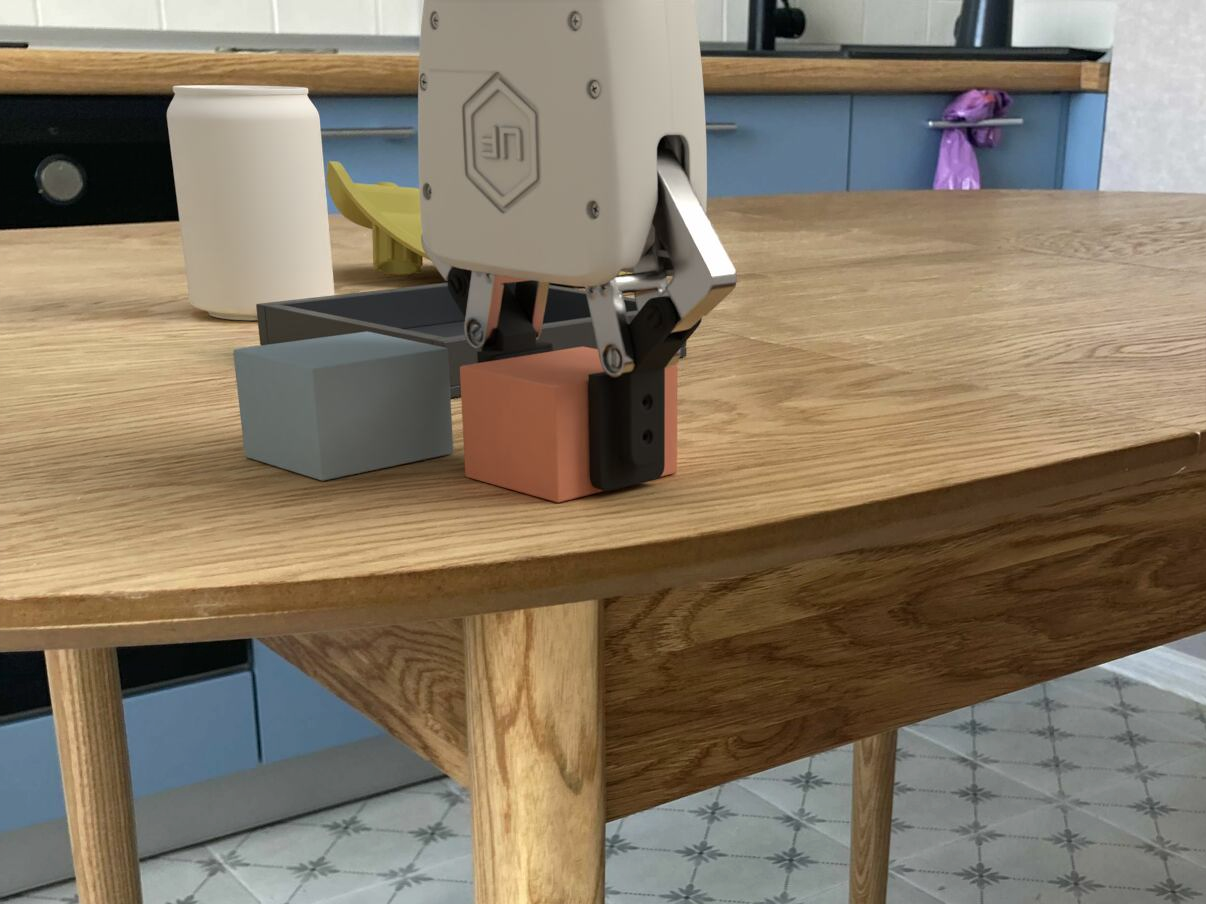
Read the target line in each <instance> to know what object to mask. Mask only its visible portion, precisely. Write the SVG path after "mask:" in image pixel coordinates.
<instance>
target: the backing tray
mask: <svg viewBox="0 0 1206 904" xmlns="http://www.w3.org/2000/svg"><path fill="white" fill-rule="evenodd" d="M507 285H508V286H509V288H510V289H511V291H512V293H513V294H514V292H515V286H516V282H515V283H507ZM623 298H624V303H625V308H626V313H627V318H628V323H629V324H630V323H631V321H632V320H633V319H634V318H635V316H636V315H637V314H638V311H637V306H636V302H635V297H629V296H623ZM256 309H257V319H258V320H257V327H258V328H257V329H258V337H259V346H262V345H269V344H277V343H284V342H292V341H299V340H307V339H314V338H322V337H329V336H337V335H344V334H352V333H359V332H372V333H377V334H382V335H387V336H391V337H396V338H401V339H406V340H411V341H416V342H420V343H425V344H430V345H435V346H440V347H445V348H447V349H448V361H449V379H450V398H451V399H453V398H458V397H461V382H460V367H461V366H464V365H470V364H476V363H478V360H477V352H480V351H482V349H478V350H475V349H473V348H471V347H470V346H469V344H468V343H467V341H466V338H465V334H464V323H465V317H464V315H463V314H462V312H461V310H460V309H459V307H458V306H457V304H456V302H455V301H454V299H453V297H452V296H451V294H450V292H449V289H448V284H447V282H440V283H432V284H431V283H430V284H423V285H413V286H405V287H396V288H387V289H386V288H385V289H379V290H370V291H360V292H352V293H351V292H350V293H341V294H335V295H332V296H323V297H314V298H305V299H296V300H287V301H278V302H269V303H260V304H256ZM538 342H547V343H552V346H553V351H558V350H564V349H570V348H576V347H588V348H593V349H598V348H597V344H596V339H595V334H594V329H593V325H592V320H591V315H590V310H589V305H588V301H587V296H586V291H585V289H584V290H583V289H579V288H578V289H577V288H570V287H565V286H558V285H552V284H549V289H548V295H547V301H546V306H545V312H544V318H543V324H542V330H541V334H540V336H539V338H538V339H537V340H536V343H538ZM680 350H681V354H680V358H685V357H687V341H686V342H685V343H684V345H683V346H682V347H681V348H680Z"/></svg>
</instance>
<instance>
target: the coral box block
mask: <svg viewBox="0 0 1206 904" xmlns="http://www.w3.org/2000/svg"><path fill="white" fill-rule="evenodd" d="M678 368H679V367H678V364H676V365H675V366H673V367H670V368H665V467H664V472H663V474H662V476H661V477H660V478H662V477H666V476H669V475H673V474H677V473H678V376H679V375H678V374H679V373H678ZM600 372H604V370H603V368H602V366H601V363H600V358H599V353H598V349H593V348H588V347H576V348H570V349H564V350H558V351H551V352H545V353H539V354H533V355H526V356H520V357H514V358H508V359H501V360H495V361H489V362H483V363H476V364H470V365H464V366H461V367H460V382H461V396H460V397H461V398H460V399H461V417H462V434H463V435H462V436H463V437H462V438H463V439H462V440H463V455H464V473H465V477H466V478H469V479H473V480H476V481H478V482H479V481H480V482H484V483H486V484H490V485H494V486H497V487H500V488H504V489H508V490H511V491H515V492H519V493H523V494H525V495H530V496H533V497H536V498H540V499H544V500H547V501H550V502H554V503H559V504H560V503H563V502H566V501H570V500H575V499H579V498H583V497H586V496H587V497H588V496H591V495H594V494H598V493H602V492H605V491H604V490H600V489H596V488H594V487H593V486H592V484H591V480H590V454H589V400H588V383H589V374H594V373H600Z"/></svg>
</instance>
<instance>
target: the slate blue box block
mask: <svg viewBox="0 0 1206 904" xmlns="http://www.w3.org/2000/svg"><path fill="white" fill-rule="evenodd" d="M232 352H233V364H234V370H235V371H234V373H235V380H236V381H235V382H236V390H237V399H238V407H239V416H240V426H241V433H242V435H241V436H242V444H243V452H244V457H245V458H248V459H250V460H255V461H257V462H260V463H263V464H264V463H265V464H267V465H270V466H273V467H277V468H279V469H283V470H286V471H290V472H292V473H296V474H298V475H302V476H306V477H308V478H313V479H314V480H319V481H321V482H323V481H329V480H332V479H334V480H335V479H337V478H343V477H347V476H353V475H356V474H363V473H366V472H371V471H376V470H382V469H386V468H391V467H395V466H401V465H405V464H410V463H414V462H419V461H424V460H425V461H426V460H429V459H433V458H434V459H435V458H439V457H443V456H448V455H452V454H454V437H453V434H454V433H453V418H452V400H451V399H452V398H450V379H449V361H448V349H447V348H445V347H440V346H435V345H430V344H425V343H420V342H416V341H411V340H406V339H401V338H396V337H391V336H387V335H382V334H377V333H372V332H359V333H352V334H344V335H337V336H329V337H322V338H314V339H307V340H299V341H292V342H284V343H277V344H269V345H262V346H261V345H256V346H248V347H239V348H234V349H232Z"/></svg>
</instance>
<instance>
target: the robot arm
mask: <svg viewBox="0 0 1206 904" xmlns="http://www.w3.org/2000/svg"><path fill="white" fill-rule="evenodd" d="M422 6H423V7H422V15H421V25H420V41H419V42H420V43H419V57H418V85H417V87H418V89H417V92H418V93H417V154H418V155H417V156H418V157H417V159H418V161H417V163H418V164H417V165H418V189H419V196H420V214H421V225H422V236H421V243H422V248H423V250H424V251H425V253H426V254H427V256H428V257H429V259H430V260H431V261H430V260H429V261H430V262H431V263H432V264H433V266H434V267H435V269H437V271H438V272H439V274H440V275H441V277H442V278H443V279H444V281H445V282H446V281H447V282H446V283H447V284H448V289H449V292H450V294H451V296H452V297H453V299H454V301H455V302H456V304H457V306H458V307H459V309H460V310H461V312H462V314H463V315H464V317H465V323H464V334H465V338H466V341H467V343H468V344H469V346H470V347H471V348H473V349H475V350H478V349H482V351H480V352H477V360H478V363H483V362H489V361H495V360H501V359H508V358H514V357H520V356H526V355H533V354H539V353H545V352H551V351H553V346H552V343H547V342H538V343H536V340H537V339H538V338H539V336H540V334H541V330H542V324H543V318H544V312H545V306H546V301H547V295H548V289H549V285H550V284H555V285H563V286H572V287H583V288H584V291H586V296H587V301H588V305H589V310H590V315H591V320H592V325H593V329H594V334H595V339H596V344H597V348H598V353H599V358H600V363H601V366H602V368H603V370H604V372H600V373H594V374H589V383H588V400H589V454H590V480H591V484H592V486H593V487H594V488H596V489H600V490H604V491H603V492H611V491H615V490H620V489H622V488H627V487H631V486H635V485H639V484H643V483H647V482H650V481H654V480H658V479H660V478H662V477H663V476H662V474H663V472H664V467H665V368H670V367H673V366H675V365H678V363H679V361H680V359H681V357H680V354H681V350H680V348H681V347H682V346H683V345H684V343H685V342H686V343H687V342H688V340H689V339H690V338H691V336H693V334H694V333H695V331H696V330H697V329H698V328H699V326H700V325H701V323H702V320H703V317H706V316H708V315H710V313H711V312H712V311H713V310H714V309H715V308H716V307H717V306H718V305H719V304H720V303H722V302H723V300H724V299H726V298H727V297H728V296H729V295H730V294H731V293H732V292H733V291H734V289H736V286H737V284H738V283H737V282H738V273H737V270H736V268H735V266H734V263H733V262H732V260H731V258H730V256H729V254H728V252H727V251H726V249H725V247H724V245H723V242H722V241H721V239H720V237H719V236H718V233H717V231H716V229H715V227H714V225H713V223H712V222H711V220H710V218H709V216H708V214H707V207H708V206H707V204H708V156H707V153H708V151H707V145H708V144H707V128H706V127H707V126H706V103H705V102H706V101H705V91H704V78H703V77H704V76H703V65H702V54H701V44H700V36H699V25H698V19H697V13H696V6H695V0H423V5H422ZM620 271H622V272H628V273H627V274H624V275H618V274H619V273H620ZM667 277H672V278H671V280H670V281H668V278H667ZM515 282H516V286H515V292H514V294H513V293H512V291H511V289H510V288H509V286H508V285H507V283H515ZM629 296H633V298H635V302H636V306H637V311H638V314H637V315H636V316H635V318H634V319H633V320H632V321H631V323H630V324H629V323H628V318H627V313H626V308H625V303H624V298H623V297H629ZM661 476H662V477H661Z"/></svg>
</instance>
